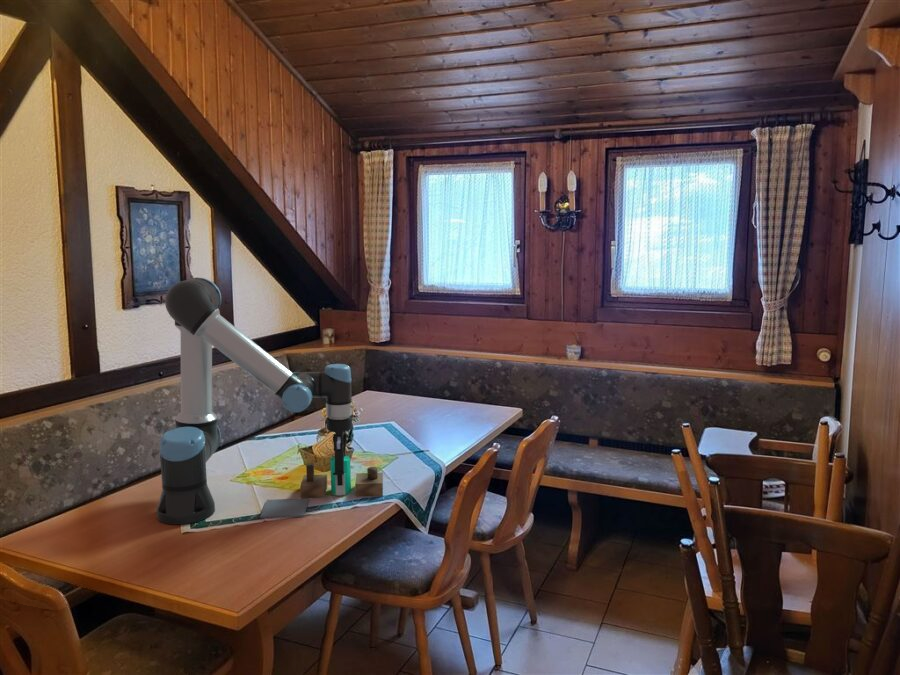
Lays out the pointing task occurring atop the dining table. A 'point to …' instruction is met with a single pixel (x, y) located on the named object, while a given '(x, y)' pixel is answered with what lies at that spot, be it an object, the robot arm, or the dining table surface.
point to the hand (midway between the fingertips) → (341, 490)
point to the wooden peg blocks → (363, 486)
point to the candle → (347, 475)
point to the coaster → (285, 508)
